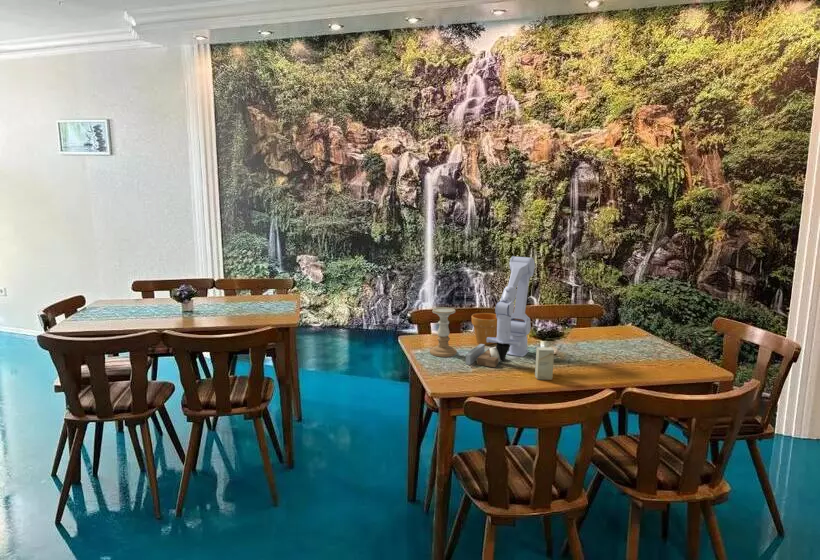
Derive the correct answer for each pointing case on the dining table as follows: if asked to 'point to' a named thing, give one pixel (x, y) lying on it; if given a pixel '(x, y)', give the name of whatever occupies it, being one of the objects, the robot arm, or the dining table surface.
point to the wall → (474, 354)
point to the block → (487, 359)
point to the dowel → (495, 353)
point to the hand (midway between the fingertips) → (502, 360)
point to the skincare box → (544, 363)
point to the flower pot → (484, 327)
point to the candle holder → (443, 334)
